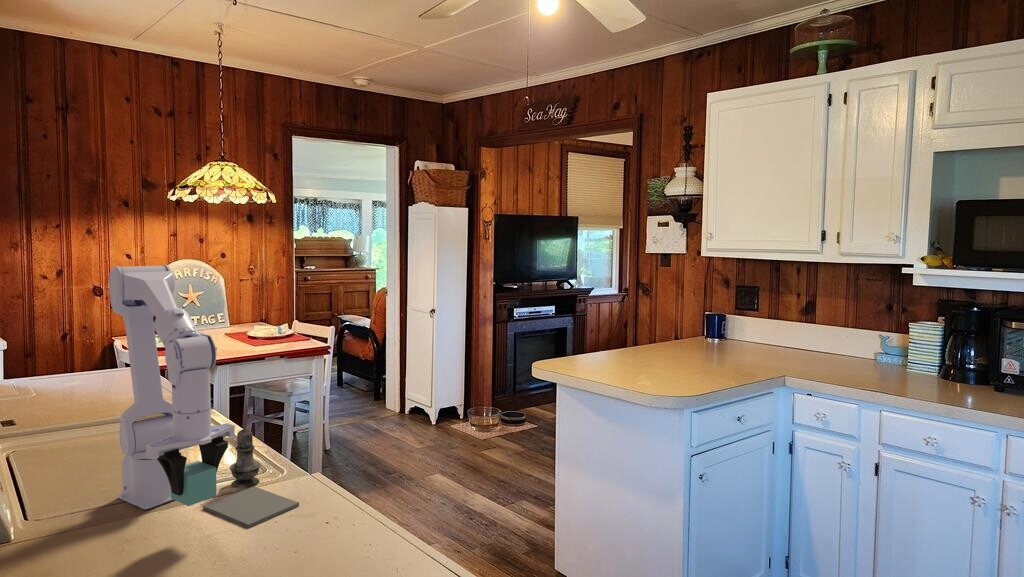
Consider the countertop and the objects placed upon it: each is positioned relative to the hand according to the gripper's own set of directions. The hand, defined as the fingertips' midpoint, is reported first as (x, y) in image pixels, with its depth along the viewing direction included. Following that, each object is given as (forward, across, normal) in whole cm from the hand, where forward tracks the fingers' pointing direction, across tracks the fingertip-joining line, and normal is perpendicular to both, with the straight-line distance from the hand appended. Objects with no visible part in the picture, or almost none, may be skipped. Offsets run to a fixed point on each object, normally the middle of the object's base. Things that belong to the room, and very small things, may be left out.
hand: (193, 488), depth 112 cm
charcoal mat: (+8, +12, +2) cm, 15 cm away
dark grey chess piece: (+9, +19, +12) cm, 24 cm away
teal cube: (+2, 0, 0) cm, 2 cm away
